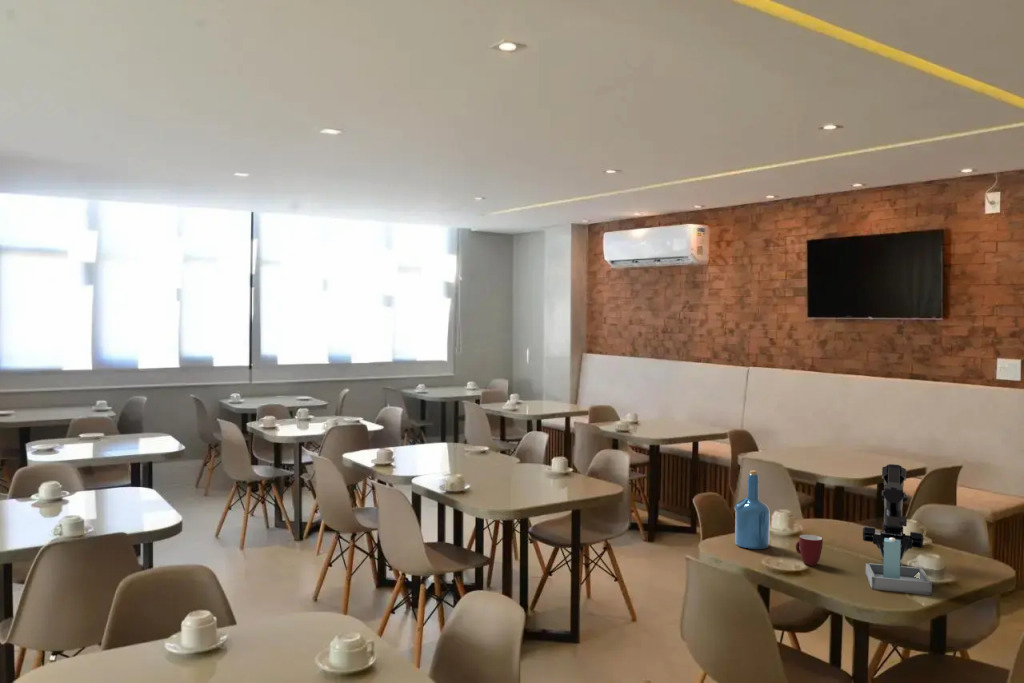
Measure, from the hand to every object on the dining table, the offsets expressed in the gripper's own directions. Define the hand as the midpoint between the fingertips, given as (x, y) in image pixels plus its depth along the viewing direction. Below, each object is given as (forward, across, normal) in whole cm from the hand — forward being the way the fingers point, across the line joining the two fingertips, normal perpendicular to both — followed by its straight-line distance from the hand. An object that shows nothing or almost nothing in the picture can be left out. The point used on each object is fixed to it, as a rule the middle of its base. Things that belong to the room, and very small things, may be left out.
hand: (891, 558), depth 268 cm
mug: (-3, -28, +16) cm, 32 cm away
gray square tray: (+5, +2, +8) cm, 10 cm away
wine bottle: (-13, -51, +26) cm, 59 cm away
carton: (+4, 0, +6) cm, 7 cm away
